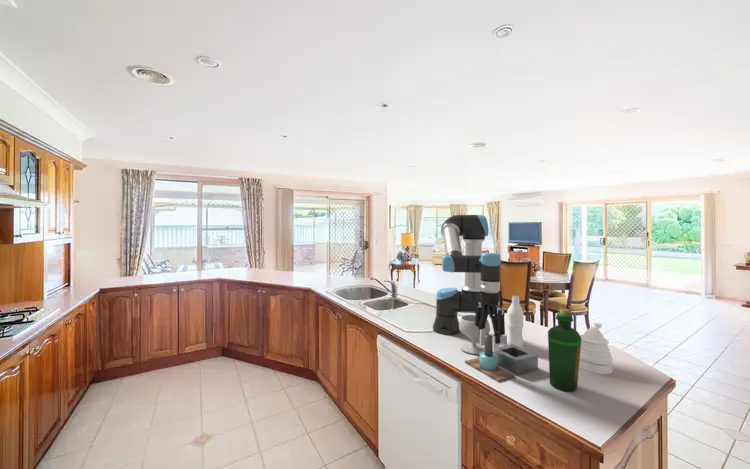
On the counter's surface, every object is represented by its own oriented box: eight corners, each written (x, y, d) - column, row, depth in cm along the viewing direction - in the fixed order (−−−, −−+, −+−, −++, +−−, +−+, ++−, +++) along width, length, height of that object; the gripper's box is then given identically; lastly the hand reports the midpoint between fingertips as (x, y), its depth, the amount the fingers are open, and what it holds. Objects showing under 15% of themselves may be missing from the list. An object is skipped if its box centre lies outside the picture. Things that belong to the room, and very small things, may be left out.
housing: (491, 362, 131) (491, 348, 131) (512, 357, 137) (512, 344, 137) (515, 375, 120) (516, 360, 120) (537, 369, 125) (538, 355, 125)
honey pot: (593, 359, 136) (594, 318, 135) (620, 373, 123) (622, 328, 123) (567, 361, 134) (568, 320, 133) (593, 375, 121) (594, 329, 121)
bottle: (588, 391, 109) (589, 312, 108) (564, 395, 106) (566, 314, 105) (561, 377, 119) (563, 305, 118) (539, 381, 116) (541, 307, 115)
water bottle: (524, 351, 144) (525, 298, 143) (508, 350, 145) (509, 297, 145) (520, 345, 151) (521, 294, 150) (505, 344, 152) (506, 294, 152)
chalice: (474, 358, 136) (474, 324, 135) (452, 347, 148) (452, 316, 148) (496, 352, 142) (496, 320, 142) (473, 342, 155) (474, 312, 154)
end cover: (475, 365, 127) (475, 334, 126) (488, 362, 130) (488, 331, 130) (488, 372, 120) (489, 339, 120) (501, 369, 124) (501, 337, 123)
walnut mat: (464, 362, 131) (464, 360, 131) (480, 359, 135) (480, 357, 135) (497, 382, 115) (497, 379, 115) (515, 377, 119) (515, 375, 119)
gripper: (466, 287, 131) (465, 341, 132) (502, 296, 114) (501, 358, 115) (479, 286, 135) (478, 338, 135) (516, 295, 117) (515, 355, 118)
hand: (489, 347), depth 125 cm, fingers open, 6 cm apart
